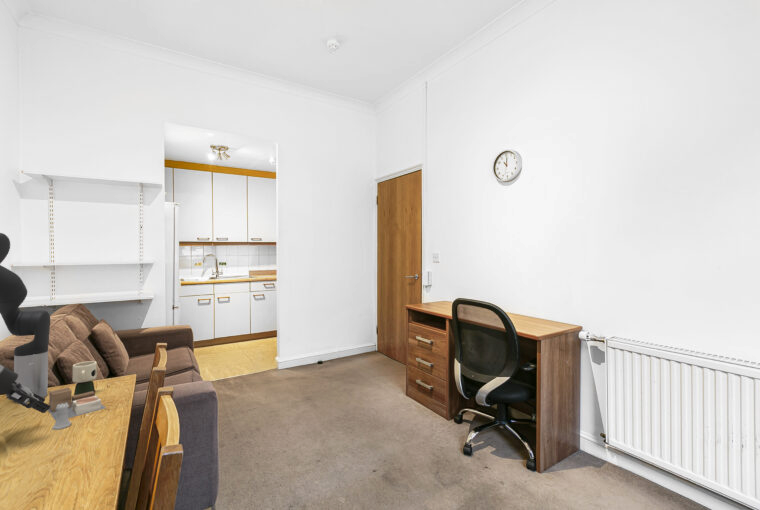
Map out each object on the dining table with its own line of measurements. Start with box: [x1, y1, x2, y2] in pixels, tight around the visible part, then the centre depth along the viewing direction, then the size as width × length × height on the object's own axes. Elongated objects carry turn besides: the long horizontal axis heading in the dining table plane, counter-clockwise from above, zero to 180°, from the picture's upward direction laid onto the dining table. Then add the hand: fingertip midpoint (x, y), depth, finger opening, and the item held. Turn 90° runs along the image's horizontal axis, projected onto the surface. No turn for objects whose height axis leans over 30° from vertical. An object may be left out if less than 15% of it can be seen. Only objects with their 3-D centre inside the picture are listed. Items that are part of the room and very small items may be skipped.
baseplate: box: [47, 401, 107, 422], centre depth 122 cm, size 16×13×1 cm
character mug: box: [72, 360, 98, 396], centre depth 135 cm, size 11×7×13 cm, turn 34°
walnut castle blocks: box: [48, 386, 96, 412], centre depth 125 cm, size 5×12×6 cm, turn 141°
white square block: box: [72, 395, 102, 416], centre depth 121 cm, size 6×6×3 cm
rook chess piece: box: [52, 403, 72, 430], centre depth 109 cm, size 4×4×8 cm
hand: (44, 406), depth 106 cm, fingers open, 8 cm apart
